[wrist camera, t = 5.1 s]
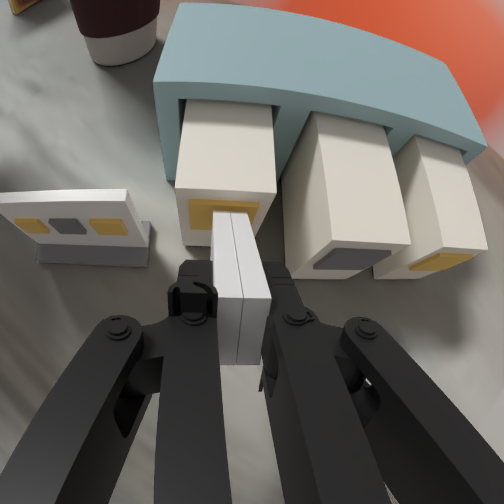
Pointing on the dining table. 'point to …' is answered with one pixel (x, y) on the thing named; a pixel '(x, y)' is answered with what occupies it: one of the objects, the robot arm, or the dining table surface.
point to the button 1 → (224, 165)
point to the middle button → (340, 199)
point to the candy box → (20, 5)
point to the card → (81, 226)
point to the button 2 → (434, 211)
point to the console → (305, 78)
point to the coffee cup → (117, 28)
